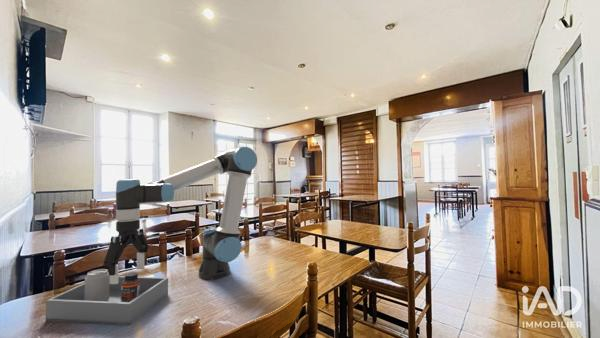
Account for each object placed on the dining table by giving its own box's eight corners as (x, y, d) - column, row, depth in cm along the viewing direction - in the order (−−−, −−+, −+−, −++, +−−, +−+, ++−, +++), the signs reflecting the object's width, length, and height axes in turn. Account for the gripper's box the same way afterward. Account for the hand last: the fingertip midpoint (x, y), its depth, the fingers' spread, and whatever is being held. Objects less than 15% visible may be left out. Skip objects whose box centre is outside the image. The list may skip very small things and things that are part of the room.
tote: (167, 294, 107) (168, 277, 107) (129, 325, 85) (129, 304, 85) (100, 292, 109) (100, 275, 109) (45, 321, 87) (46, 300, 87)
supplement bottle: (118, 309, 93) (119, 277, 93) (122, 302, 98) (123, 272, 99) (137, 306, 95) (138, 275, 95) (140, 299, 100) (141, 270, 101)
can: (95, 309, 93) (96, 276, 93) (78, 307, 94) (79, 274, 95) (114, 299, 100) (114, 268, 101) (98, 297, 102) (99, 267, 102)
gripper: (141, 214, 110) (141, 263, 110) (89, 226, 85) (89, 290, 85) (158, 214, 109) (158, 264, 109) (111, 226, 85) (111, 291, 84)
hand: (128, 275), depth 97 cm, fingers open, 13 cm apart
